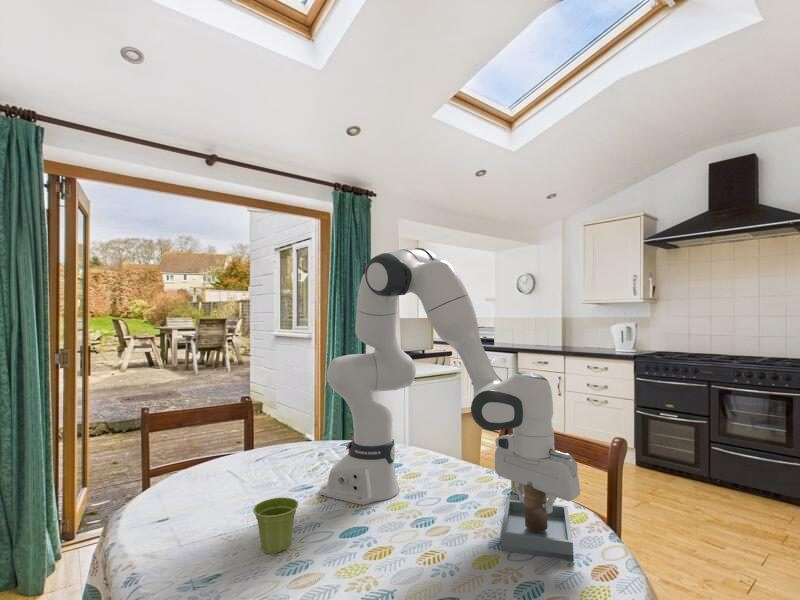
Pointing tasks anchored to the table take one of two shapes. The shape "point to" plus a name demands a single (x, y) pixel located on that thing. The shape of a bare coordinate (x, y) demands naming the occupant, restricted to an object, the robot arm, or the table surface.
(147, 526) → the table surface
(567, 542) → the tray
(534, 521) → the shaker
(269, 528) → the plant pot
